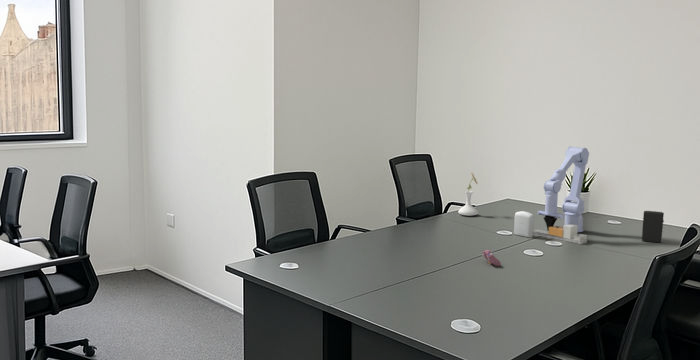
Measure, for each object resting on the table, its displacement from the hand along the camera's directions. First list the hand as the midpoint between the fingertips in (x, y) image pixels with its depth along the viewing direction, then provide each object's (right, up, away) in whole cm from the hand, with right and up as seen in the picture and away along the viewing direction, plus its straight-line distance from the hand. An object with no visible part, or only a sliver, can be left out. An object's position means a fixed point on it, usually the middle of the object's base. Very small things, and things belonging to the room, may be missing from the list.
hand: (549, 230), depth 347 cm
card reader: (+48, -5, -8) cm, 49 cm away
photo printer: (-13, -3, +1) cm, 13 cm away
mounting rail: (+3, -3, -3) cm, 6 cm away
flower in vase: (-32, +5, +52) cm, 62 cm away
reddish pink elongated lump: (-40, -10, -53) cm, 67 cm away
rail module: (+7, -3, -8) cm, 11 cm away
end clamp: (+3, -2, -4) cm, 5 cm away
